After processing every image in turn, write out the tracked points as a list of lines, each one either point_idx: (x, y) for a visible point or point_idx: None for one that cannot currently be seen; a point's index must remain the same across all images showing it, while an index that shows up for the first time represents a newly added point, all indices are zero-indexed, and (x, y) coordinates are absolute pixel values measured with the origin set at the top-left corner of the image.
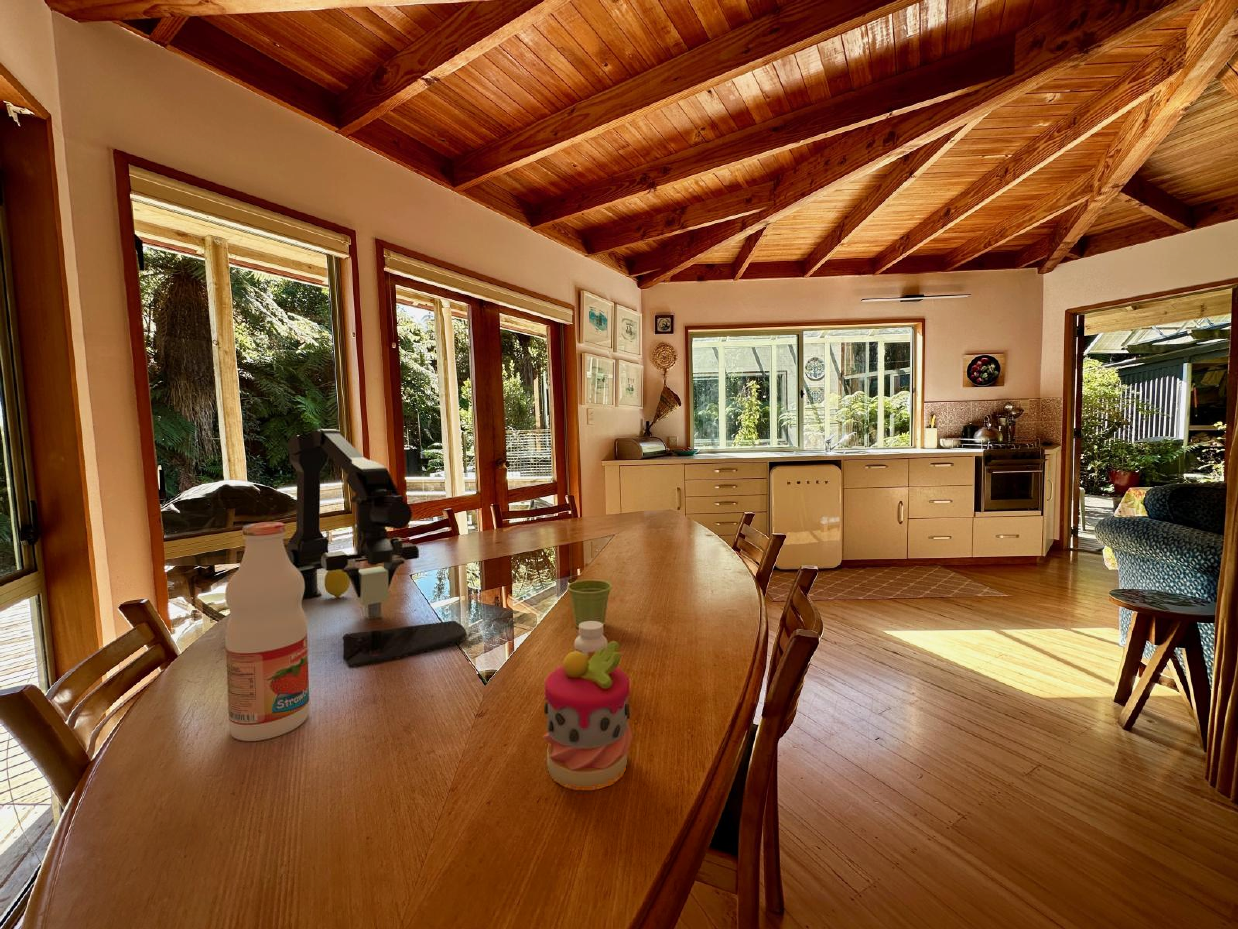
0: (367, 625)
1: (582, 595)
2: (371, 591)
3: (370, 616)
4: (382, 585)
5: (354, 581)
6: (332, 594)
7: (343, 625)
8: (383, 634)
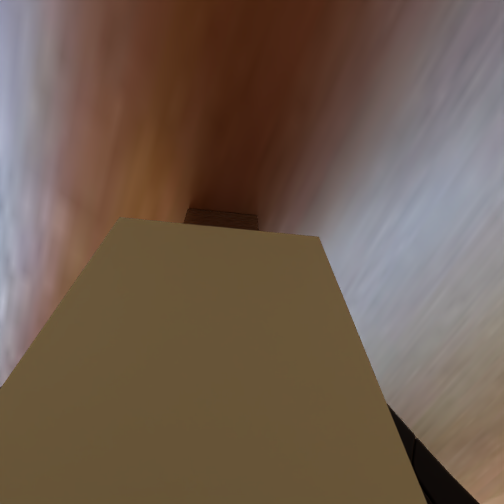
0: (301, 128)
1: None
2: (261, 295)
3: (246, 222)
4: (129, 320)
5: (434, 469)
6: None
7: (383, 223)
8: None
